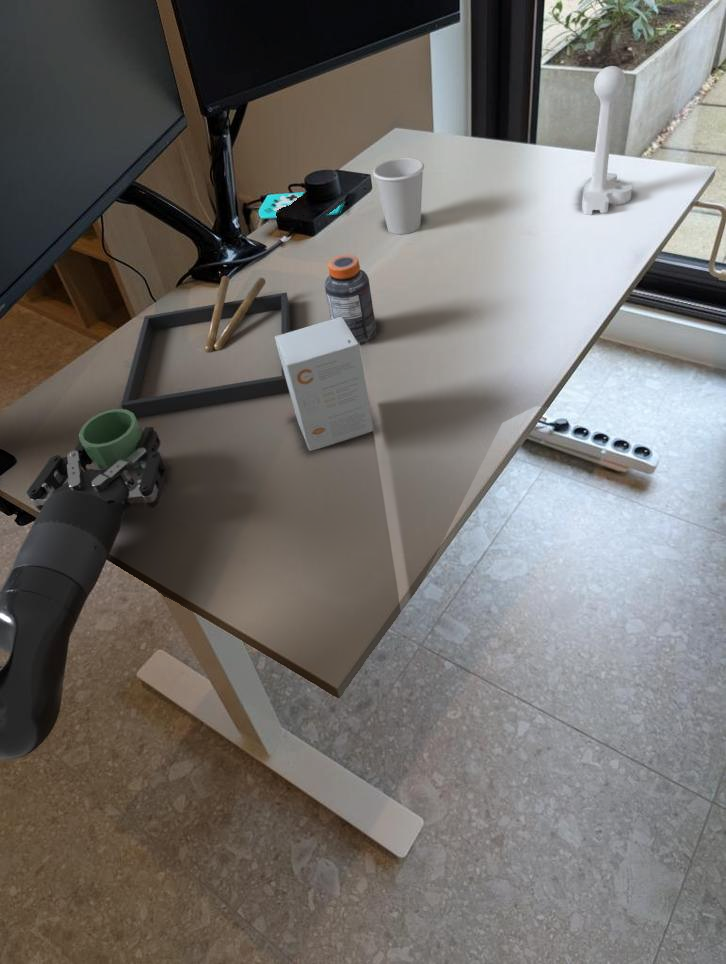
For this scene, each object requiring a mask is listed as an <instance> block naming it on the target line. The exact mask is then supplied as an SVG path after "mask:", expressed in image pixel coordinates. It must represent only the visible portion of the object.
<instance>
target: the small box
mask: <svg viewBox="0 0 726 964" xmlns="http://www.w3.org/2000/svg"><path fill="white" fill-rule="evenodd" d="M274 340H275V344H276V348H277V351H278V355H279V359H280V363H281V368H282V367H283V370H284V374H285V378H286V381H287V385H288V389H289V396H290V399H291V403H292V406H293V410H294V413H295V417H296V421H297V423H298V426H299V429H300V431H301V433H302V436H303V438H304V441H305V443H306V446H307V449H308V450H309V452H312V451H315V450H316V451H317V450H319V449H322V448H326V447H329V446H331V445H335V444H338V443H340V442H344V441H347V440H351V439H354V438H357V437H360V436H363V435H366V434H369V433H371V432H372V433H373V434H375V431H374V423H373V419H372V412H371V405H370V400H369V394H368V393H369V392H368V389H367V384H366V383H367V382H366V377H365V372H364V365H363V360H362V354H361V353H362V352H361V347H360V342H357V340H356V339H355V337H354V336H353V334H352V333H351V331H350V329H349V328H348V326H347V324H346V323H345V321H344V320H343V318H342V317H338V318H335V319H332V320H331V319H328V320H325V321H322V322H318V323H315V324H311V325H308V326H305V327H302V328H298V329H295V330H291V331H290V332H288V333H285V334H282V333H281V334H278V335H275V336H274Z"/></svg>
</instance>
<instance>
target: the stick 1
mask: <svg viewBox="0 0 726 964" xmlns="http://www.w3.org/2000/svg"><path fill="white" fill-rule="evenodd" d="M229 284H230V278H229V277H228V276H227V275H223V276H222V277H221V279H220V283H219V287H218V291H217V296H216V299H215V308H214V312H213V316H212V320H211V321H210V325H209V329H208V333H207V337H206V342H205V346H204V351H205V352H206V353H212V352H213V351H214V350H215V349H214V344H215V343H216V341H217V337H218V332H219V327H220V323H221V320H222V319H221V315H222V311H223V306H224V303H226V302H225V301H226V296H227V293H228V288H229ZM220 319H221V320H220Z"/></svg>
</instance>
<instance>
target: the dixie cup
mask: <svg viewBox="0 0 726 964" xmlns="http://www.w3.org/2000/svg"><path fill="white" fill-rule="evenodd" d="M424 170H425V164H424V162H423V161H421V160H420V159H417V158H413V157H398V158H392V159H388V160H385V161H383V162H381V163H379V164H377V165H376V166H375V167H374V169H373V171H372V175H373V176H374V179H375V183H376V186H377V190H378V195H379V199H380V202H381V203H380V204H381V207H382V211H383V215H384V220H385V223H386V226H387V231H388V232H389V233H391V234H393V235H408V234H411V233H414V232H416V231H418V230H419V229H420V227H421V220H422V219H421V217H422V200H423V199H422V197H423V196H422V195H423V177H424Z"/></svg>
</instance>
